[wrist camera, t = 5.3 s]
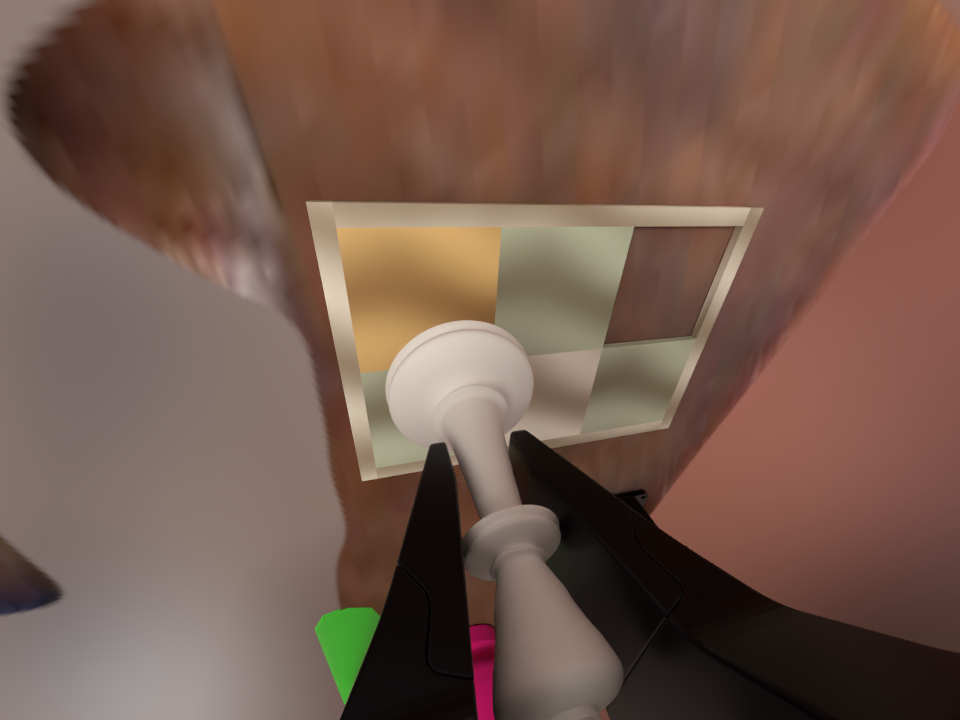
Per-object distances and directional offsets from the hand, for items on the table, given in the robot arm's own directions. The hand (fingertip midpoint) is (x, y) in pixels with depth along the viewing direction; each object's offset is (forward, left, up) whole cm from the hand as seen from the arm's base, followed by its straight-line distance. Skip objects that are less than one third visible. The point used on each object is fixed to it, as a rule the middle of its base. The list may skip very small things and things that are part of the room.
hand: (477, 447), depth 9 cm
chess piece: (0, 0, -3) cm, 3 cm away
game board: (-4, -7, -11) cm, 13 cm away
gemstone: (-32, +9, -11) cm, 35 cm away
